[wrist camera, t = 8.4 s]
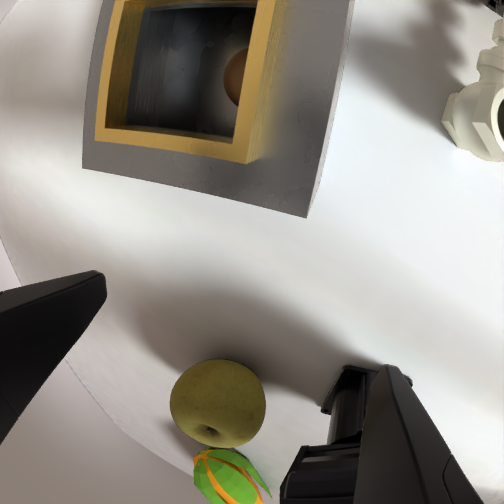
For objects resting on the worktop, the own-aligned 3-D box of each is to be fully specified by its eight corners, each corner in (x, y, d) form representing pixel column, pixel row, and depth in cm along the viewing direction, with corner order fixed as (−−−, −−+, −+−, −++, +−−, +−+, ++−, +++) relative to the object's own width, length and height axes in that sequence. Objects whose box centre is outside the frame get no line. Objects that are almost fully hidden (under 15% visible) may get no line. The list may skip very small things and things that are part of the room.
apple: (279, 403, 27) (259, 464, 21) (203, 393, 29) (174, 445, 23) (270, 345, 24) (244, 413, 18) (184, 337, 26) (143, 392, 20)
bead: (252, 112, 17) (304, 122, 15) (203, 106, 15) (257, 114, 12) (262, 55, 16) (316, 57, 13) (214, 40, 13) (271, 35, 11)
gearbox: (318, 186, 18) (301, 231, 11) (148, 151, 20) (62, 174, 13) (357, -21, 12) (358, -95, 5) (178, -28, 14) (106, -70, 7)
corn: (218, 489, 25) (273, 535, 31) (244, 438, 31) (288, 497, 37) (167, 474, 28) (231, 525, 34) (194, 430, 34) (248, 491, 40)
